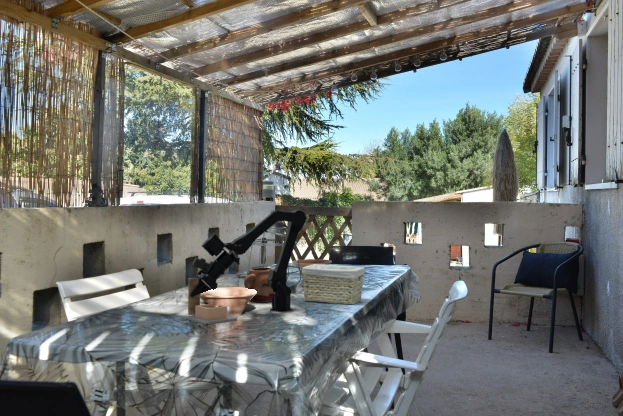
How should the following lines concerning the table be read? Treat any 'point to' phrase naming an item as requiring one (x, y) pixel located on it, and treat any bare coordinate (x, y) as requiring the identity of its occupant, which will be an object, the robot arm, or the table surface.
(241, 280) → the architectural model
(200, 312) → the square socket holder
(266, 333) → the table surface
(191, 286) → the walnut wood block
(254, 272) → the decorative planter
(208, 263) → the robot arm
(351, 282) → the storage basket
